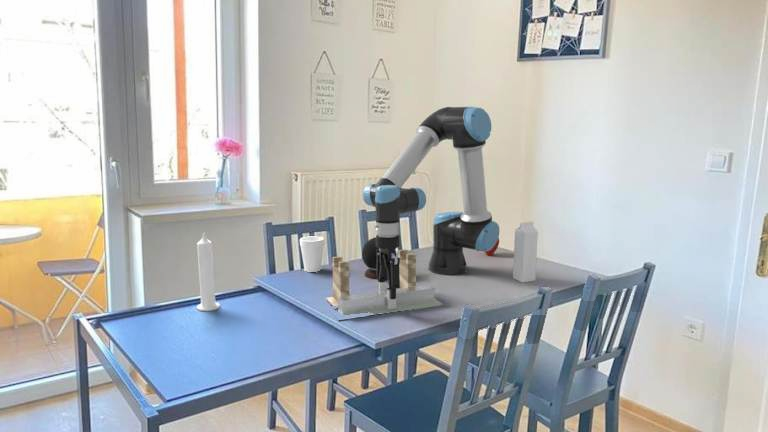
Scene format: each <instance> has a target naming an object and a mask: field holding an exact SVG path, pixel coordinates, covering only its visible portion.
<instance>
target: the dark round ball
mask: <svg viewBox="0 0 768 432" xmlns="http://www.w3.org/2000/svg"><path fill="white" fill-rule="evenodd" d="M376 249H380V248H377V247H376V236H375V237H372V238H370V239H368V241H366V242H365V244H364V245H363V248H362V251H361V258H362V261H363V263H364V265H365V266H367V267H368V268H367V269H366V271H364V277H365V278H366V279H367V278H368V279H371V280H378V278H376V258H377V256H376ZM395 254H396V255H397V250H396V249H395ZM389 265H391V264H389ZM387 279H388V276H387Z"/></svg>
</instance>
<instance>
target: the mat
mask: <svg viewBox="0 0 768 432" xmlns="http://www.w3.org/2000/svg"><path fill="white" fill-rule="evenodd" d="M443 305H444V304H443V303H442V302H441V301H440V300H438V299H437V298H435V299H434V303H429V304H422V305H415V306H409V307H402V308H395V309H389V310H382V311H375V312H370V313H373V314H379V313H387V312H395V313H398V312H397V311H401V312H405V311H404V310H408V311H413V310H412V309H414V310H420V309H425V308H431V307H432V308H433V307H439V306H440V307H441V306H443Z"/></svg>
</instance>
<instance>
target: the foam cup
mask: <svg viewBox="0 0 768 432" xmlns="http://www.w3.org/2000/svg"><path fill="white" fill-rule="evenodd" d="M299 245H300V250H301V255H302V256H301V257H302V263H303V269H304V272H305V271H307V272H316V273H318V272H317V271H320V270H322V262H323V254H324V245H325V238H324V237H323V236H317V235H315V236H313V235H310V236H309V235H308V236H303V237H301V238H299ZM307 272H306V273H307ZM320 272H321V271H320Z"/></svg>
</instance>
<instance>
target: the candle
mask: <svg viewBox="0 0 768 432" xmlns="http://www.w3.org/2000/svg"><path fill="white" fill-rule="evenodd" d="M196 245H197V260H198V263H197V264H198V277H199V278H198V280H199V290H200V291H199V292H200V293H199V294H200V304H198V305H197V306H196V309H197V310H198V311H200V312H211V311H215V310H218V309H219V308H220V307H221V305H220V303H219V302H216V288H215V271H214V268H215V267H214V256H213V253H214V252H213V242H212V241H211V240H209V239H208V238H207V234H206V232H205V231H204V232H203V233H202V238H201V239H200V240H199V241H198V242H197V243H196Z"/></svg>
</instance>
